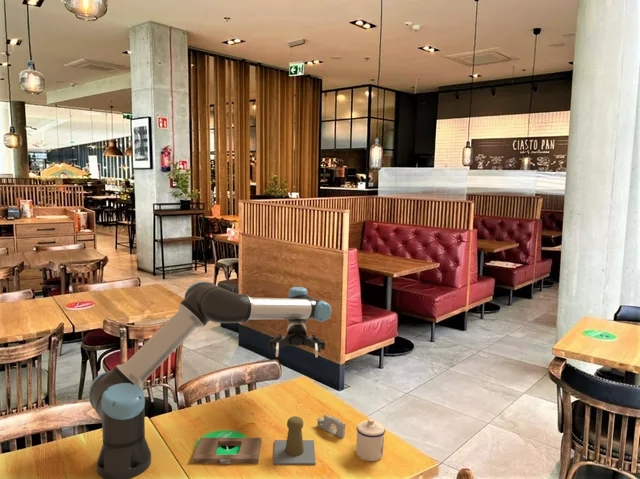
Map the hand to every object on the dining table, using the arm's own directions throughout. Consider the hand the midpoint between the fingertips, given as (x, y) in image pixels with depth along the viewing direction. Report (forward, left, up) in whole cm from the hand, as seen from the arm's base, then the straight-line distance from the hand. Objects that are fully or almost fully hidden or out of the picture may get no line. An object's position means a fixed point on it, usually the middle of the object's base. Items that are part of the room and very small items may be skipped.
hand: (296, 353), depth 164 cm
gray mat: (0, -14, -28) cm, 31 cm away
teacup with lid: (+24, -13, -28) cm, 39 cm away
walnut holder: (-21, -14, -28) cm, 38 cm away
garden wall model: (+13, -1, -28) cm, 31 cm away
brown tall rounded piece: (0, -14, -28) cm, 31 cm away
